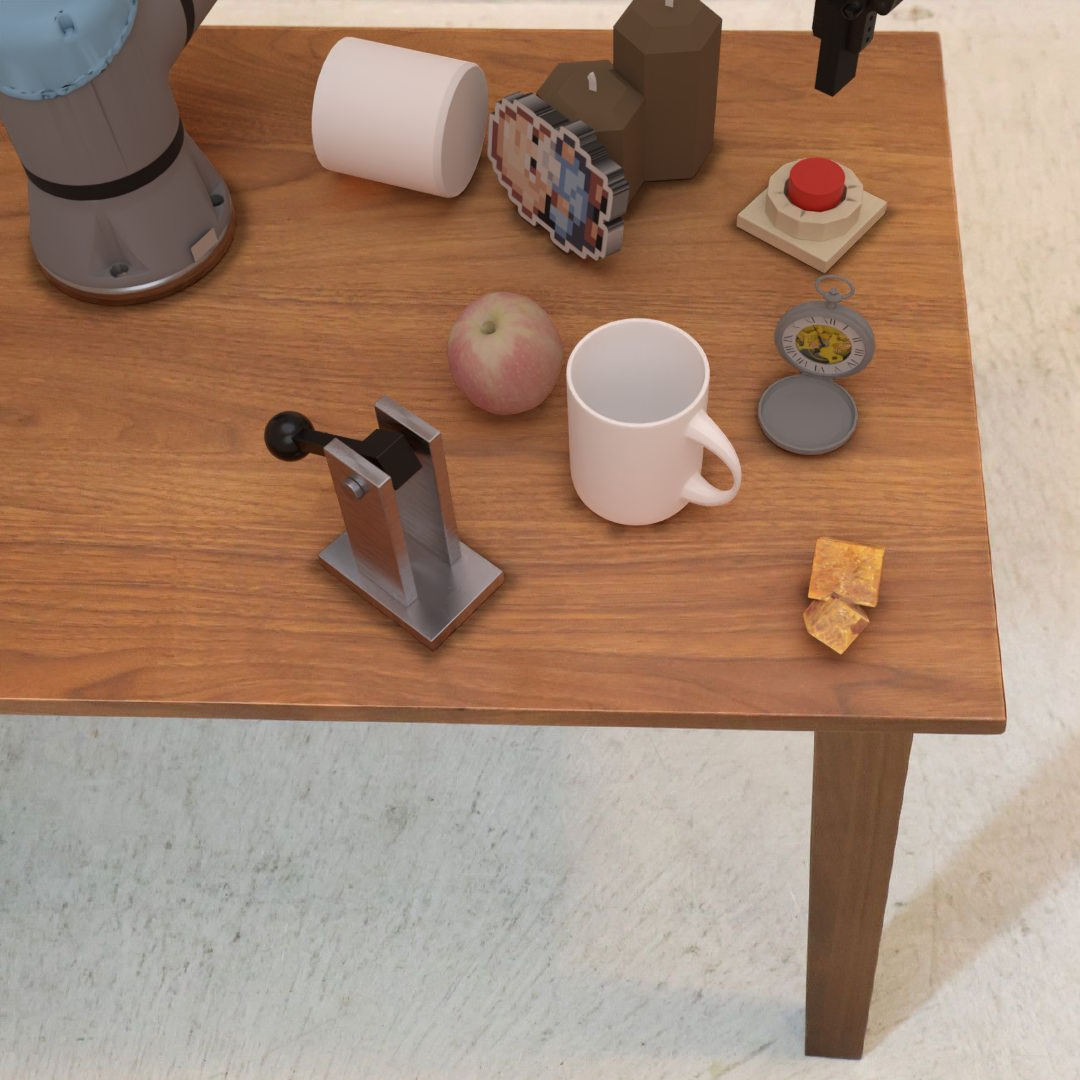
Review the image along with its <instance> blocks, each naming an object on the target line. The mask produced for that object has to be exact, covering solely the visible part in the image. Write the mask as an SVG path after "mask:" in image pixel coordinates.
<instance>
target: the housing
mask: <svg viewBox="0 0 1080 1080" xmlns="http://www.w3.org/2000/svg"><path fill="white" fill-rule="evenodd" d="M807 158H808V157H804V158H800V157H799V158H797V159H796V160H794V161H789V162H785V163H784V164H782V165H781V166H780V167H779V168H778V169H777V170H776V171H775V172H774V173H773V174H772V175H771V176H769V178H768V184H767V187H766V188H765V189H764V190H763V191H761V192H760V193H759V194H758V195H757V196H756V197H755V198H754V199H753V200H752V201H751V202H750V203H749V204H748V205H746V206H745V207H744V208H743V209H742V210H741V211H740V212H739V213H738V214H737V216H736V226H735V227H737V228H739V229H740V230H742V231H744V232H746V233H748V234H750V235H752V236H754V237H756V238H757V239H759V240H761V241H763V242H765V243H767V244H769V245H770V246H772V247H774V248H776V249H778V250H780V251H782V252H783V253H785V254H787V255H789V256H791V257H793V258H795V259H796V260H798V261H801V262H802V263H804V264H806V265H808V266H810V267H811V268H813V269H816V270H817V271H819V272H820V273H822V274H826V273H827V272H828V271H829V270H830V269H831V268H832V267H833V266H834V265H835V264H836V263H837V262H838V261H839V260H840V259H841V258H842V257H843V256H844V255H845V254H846V253H847V252H848V251H849V250H850V249H851V248H852V247H854V245H855V244H857V242H858V241H859V240H860V239H861V238H862V237H863V236H864V235H865V234H866V233H867V232H868V231H869V230H870V229H872V227H874V226H875V224H876V223H877V222H879V220H880V219H882V218H883V216H884V215H885V214H886V210H887V205H888V201H886V200H884V199H882V198H880V197H878V196H876V195H875V194H872V193H870V192H868V191H866V190H864V185H863V183H862V182H861V180H860V179H859V178H858V176H857V175H856V173H855V172H854V171H853V170H852V169H851V168H848V166H845V165H842V164H841V163H839V162H837V161H835V160H832V159H830V160H831V161H834V162H835V163H837V164H838V165H839V166H840V167H841V168H842V169H843V171H844V173H845V183H844V189H843V194H842V199H841V201H840V203H839V204H838V205H837V206H836V207H834V208H833V209H830V210H827V211H824V212H813V211H805V210H802V209H800V208H798V207H796V206H795V205H794V204H793V203H792V202H791V201H790V199H789V197H788V184H789V176H790V171H791V169H792V167H793V166H794V165H795V164H796V163H797V162H799V161H801V160H803V159H807Z"/></svg>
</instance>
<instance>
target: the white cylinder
mask: <svg viewBox="0 0 1080 1080" xmlns="http://www.w3.org/2000/svg"><path fill="white" fill-rule="evenodd" d="M313 95H314V96H313V101H312V102H313V103H312V111H311V137H312V144H313V149H314V153H315V156H316V159H317V161H318V163H320V165H321V166H322V168H324V169H326V170H328V171H330V172H335V173H340V174H343V175H347V176H352V177H356V178H360V179H363V180H364V179H365V180H368V181H373V182H379V183H382V184H385V185H391V186H394V187H399V188H403V189H407V190H412V191H416V192H420V193H424V194H428V195H432V196H437V197H441V198H446V199H452V198H456V197H458V196H459V195H461V194H462V193H463V192H464V191H465V190H466V188H467V187H468V185H469V184H470V182H471V180H472V178H473V177H474V173H475V172H476V169H477V167H478V164H479V160H480V157H481V155H482V150H483V146H484V142H485V138H486V132H487V126H488V120H489V106H490V105H489V104H490V103H489V102H490V101H489V87H488V80H487V77H486V74H485V72H484V70H483V69H482V68H481V67H480V66H479V65H478V64H477V63H476V62H472V61H468V60H462V59H458V58H453V57H449V56H444V55H439V54H435V53H430V52H425V51H420V50H415V49H411V48H406V47H402V46H396V45H392V44H387V43H382V42H379V41H373V40H369V39H365V38H364V39H363V38H359V37H355V36H345V37H343V38H341V39H339V40H338V41H337V42H336V43H335V44H334V45H333V46H332V48H331V49H330V51H329V52H328V53H327V56H326V58H325V60H324V62H323V64H322V67H321V69H320V73H319V75H318V78H317V82H316V86H315V90H314V94H313Z"/></svg>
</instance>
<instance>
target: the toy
mask: <svg viewBox="0 0 1080 1080" xmlns="http://www.w3.org/2000/svg"><path fill="white" fill-rule="evenodd" d="M487 133H488V135H487V158H488V160H489V161H490V162H491V163H492V170H493V172H494V173H495V174H496V175H497V180H498V182H499V184H500V185H501V186H502V187H504V188H505V189H506V190H507V197H508V199H509V200H510V201H511V202H512V203H513V204H515V205H516V206H517V213H518V214H519V215H520V217H521V218H523V219H524V220H525V221H527V222H528V223H529V224H531V225H532V226H533V227H536V226H538V225H540V226H541V227H543V228H544V229H545V230H546V231H547V232H548V233H549V239H550V240H551V241H552V243H553V244H554V245H556V246H557V247H558V248H559V249H561V250H562V251H563V252H565V253H566V254H568V253H570V252H573V253H575V254H576V255H578V257H580V258H581V259H583V260H586V259H589V258H592V259H593V260H594V261H595V262H596V261H600V260H602V259H606V258H608V257H611V256H612V255H615V254H616V253H618V252H620V251H621V249H622V246H623V245H622V244H623V235H624V227H625V221H624V219H623V218H622V216H625V215H626V213H627V208H628V206H627V203H628V195H629V183H628V182H627V181H626V180H625V178H624V173H625V172H624V169H623V168H622V167H620V166H619V165H618V164H617V163H615V162H614V161H613V160H611V159H610V158H609V157H608V151H607V149H606V147H605V146H604V145H602V144H601V143H600V142H598V141H597V137H596V132H595V131H594V129H592V128H591V127H590V126H588V125H587V124H585V123H584V122H582V121H581V120H580V119H577V120H574V121H572V122H570V120H569V119H568V118H566V117H565V116H564V115H562V114H561V113H560V112H558V111H557V110H553V108H552V107H551V106H550V105H549V104H547V103H546V102H545V101H543V100H542V99H540V98H539V97H538V96H536V93H534V92H528V93H523V92H522V91H520V90H519V91H515V92H513V93H511V94H508V95H506V96H503V97H502V98H501V100H498V101H496V102H495V104H494V111H492V112H490V113H489V114H488V132H487Z"/></svg>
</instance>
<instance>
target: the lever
mask: <svg viewBox="0 0 1080 1080" xmlns="http://www.w3.org/2000/svg"><path fill="white" fill-rule="evenodd" d="M263 431H264V432H263V441H264V445H265V447H266V449H267V451H268V452H269V453H270V454H271V455H272V456H273V457H274V458H276V460H279V461H282V462H286V463H293V462H294V463H295V462H298V461H301V460H303V459H305V458H306V457H307V456H309V455H310V454H311V455H315V456H319V457H324V458H326V456H325V453H324V449H323V448H324V447H325V446H326V445H327V444H328V443H330V442H331V441H332V440H333V439H334V438H337V439H338V440H340V441H341V442H342V443H344V444H345V445H347V446H348V447H349V448H351V449H352V450H354V451H355V452H357V453H358V454H359V455H361V456H362V457H364V458H365V459H366V460H368V461H369V462H371V463H372V464H373V465H375V466H376V467H378V468H379V469H381V470H382V471H383V472H385V473H386V474H388V475H389V476H390V477H391V479H392V484H393V488H394V490H398V489H399V488H400V487H401V486H402V485H403V484H404V483H406V482H407V481H408V480H409V479H410V478H411V477H412V476H413V475H414V474H415V473H417V472H418V471H419V470H420V469H421V468H422V467H423V466H422V464H421V463H420V461H419V459H418V458H417V456H416V454H415V453H414V451H413V449H412V448H411V446H410V444H409V443H408V441H407V439H406V438H405V436H404V434H400V433H395V432H391V431H386V430H381V429H379V428H376V429H374V430H373V431H372V432H371V433H369V435H367V436H366V437H365V438H364V439H363V440H360V439H355V438H351V437H346V436H342V435H338V434H333V433H329V432H325V431H320V430H317V429H315V426H314V424H313V422H312V421H311V420H310V418H308V416H306V415H305V414H303V413H301V412H299V411H297V410H296V411H295V410H284V411H281V412H278V413H276V414H275V415H273V416H272V417H271V418H270V419H269V420H268V421H267V423H266V425H265V428H264V430H263Z"/></svg>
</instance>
